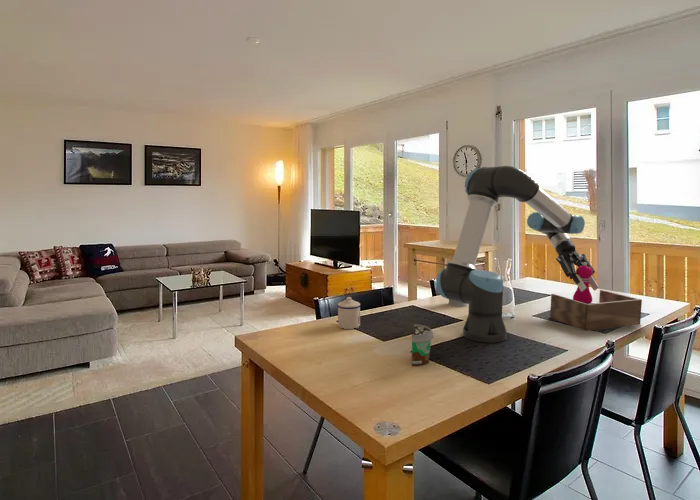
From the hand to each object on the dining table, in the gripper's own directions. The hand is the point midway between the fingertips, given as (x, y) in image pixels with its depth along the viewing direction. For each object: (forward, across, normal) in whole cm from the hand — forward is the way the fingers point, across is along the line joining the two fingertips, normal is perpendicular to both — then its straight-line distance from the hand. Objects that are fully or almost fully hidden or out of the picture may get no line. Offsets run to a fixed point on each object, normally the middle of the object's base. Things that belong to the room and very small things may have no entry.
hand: (590, 289), depth 181 cm
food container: (+25, +85, +8) cm, 89 cm away
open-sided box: (+11, +1, -6) cm, 13 cm away
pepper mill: (+4, 0, -9) cm, 10 cm away
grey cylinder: (-17, +37, -35) cm, 53 cm away
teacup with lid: (-5, +97, -24) cm, 100 cm away
